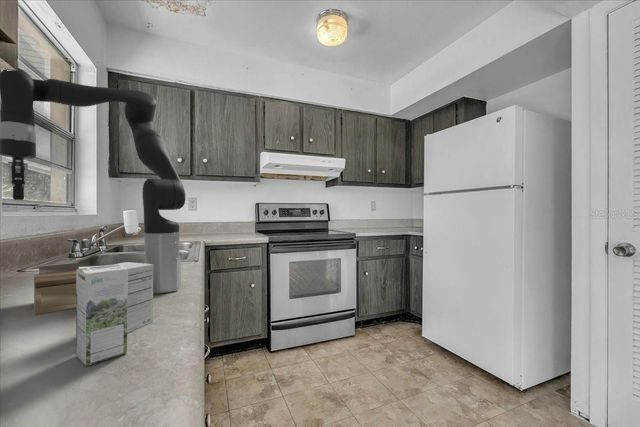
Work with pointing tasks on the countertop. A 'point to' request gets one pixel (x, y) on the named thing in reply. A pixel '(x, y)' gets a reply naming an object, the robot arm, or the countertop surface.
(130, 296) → the supplement box
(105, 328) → the syrup box
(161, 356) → the countertop surface
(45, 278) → the brown wooden block
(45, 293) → the box
